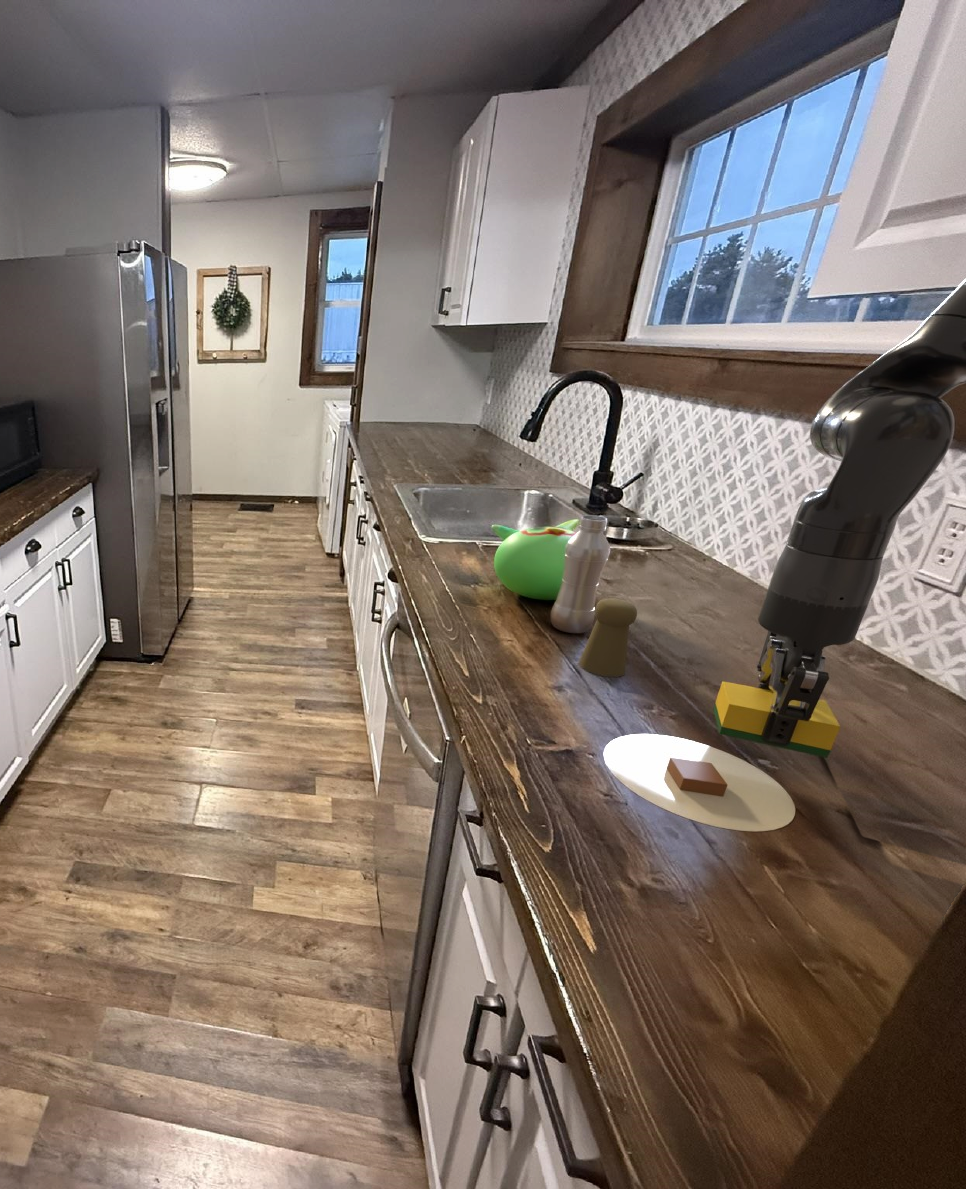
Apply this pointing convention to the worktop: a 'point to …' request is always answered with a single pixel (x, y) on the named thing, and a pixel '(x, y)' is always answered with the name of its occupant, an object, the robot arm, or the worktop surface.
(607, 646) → the cork
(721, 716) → the sponge
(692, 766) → the brown wooden tile
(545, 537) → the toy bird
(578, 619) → the plastic bottle
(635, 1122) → the worktop surface
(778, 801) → the plate
